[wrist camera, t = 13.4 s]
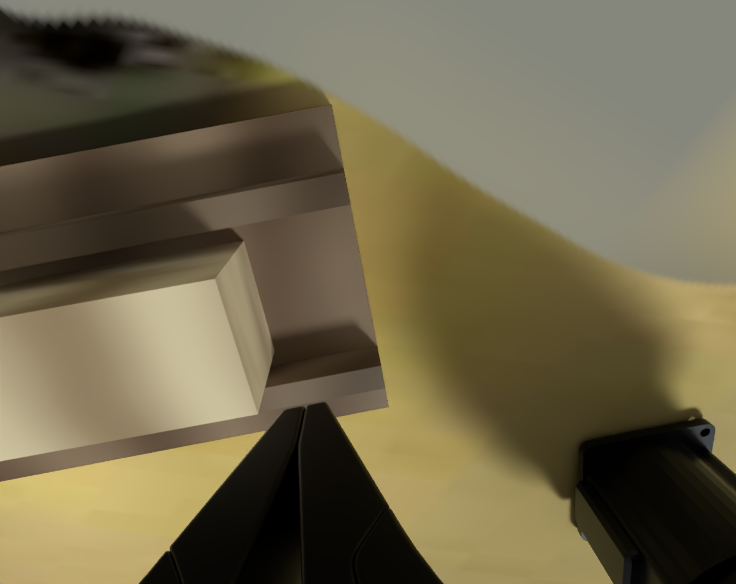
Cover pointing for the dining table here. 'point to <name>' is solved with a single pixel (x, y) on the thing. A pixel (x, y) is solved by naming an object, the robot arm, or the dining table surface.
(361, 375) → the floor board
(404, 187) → the dining table surface
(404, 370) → the dining table surface
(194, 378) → the beige rectangular block
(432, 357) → the dining table surface
